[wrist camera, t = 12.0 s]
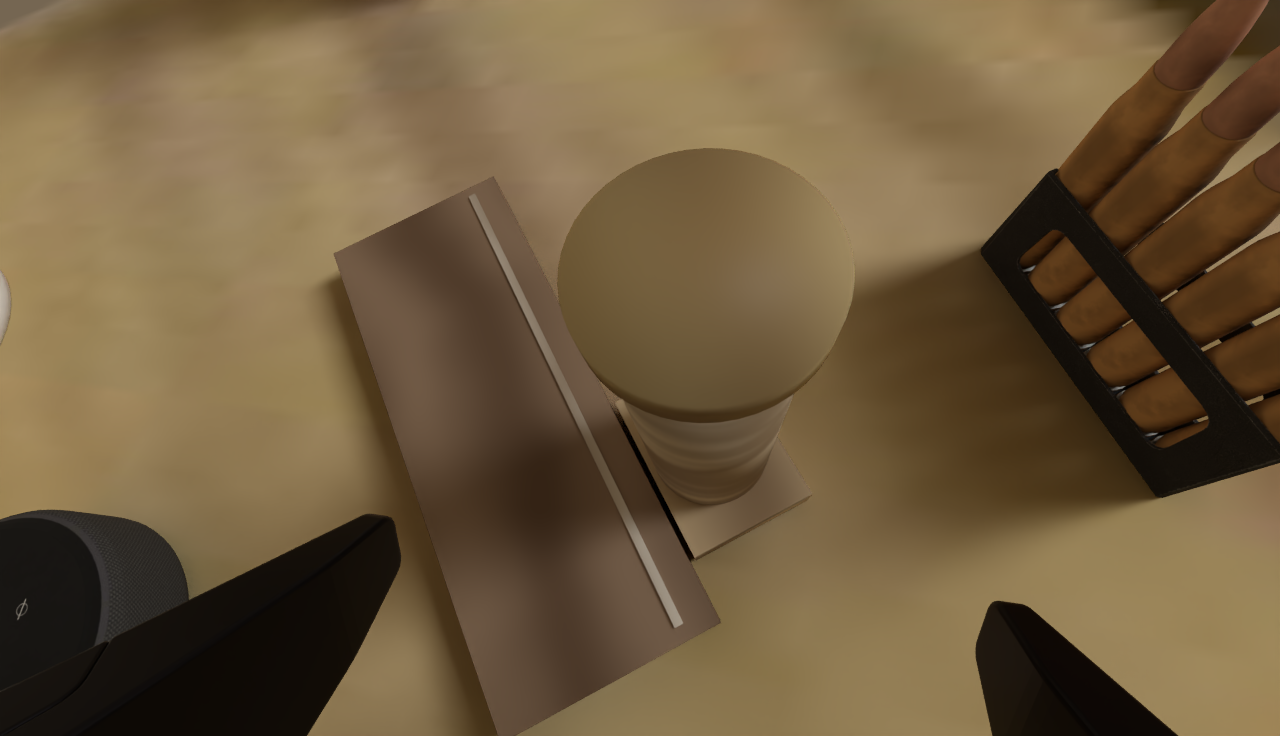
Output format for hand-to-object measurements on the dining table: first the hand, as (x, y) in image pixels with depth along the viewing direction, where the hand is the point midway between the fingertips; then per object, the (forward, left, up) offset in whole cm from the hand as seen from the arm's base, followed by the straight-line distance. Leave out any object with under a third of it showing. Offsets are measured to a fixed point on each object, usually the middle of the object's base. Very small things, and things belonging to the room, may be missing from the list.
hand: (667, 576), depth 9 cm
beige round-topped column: (+3, +4, -12) cm, 13 cm away
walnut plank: (-4, +9, -13) cm, 16 cm away
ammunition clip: (+17, +1, -13) cm, 21 cm away
